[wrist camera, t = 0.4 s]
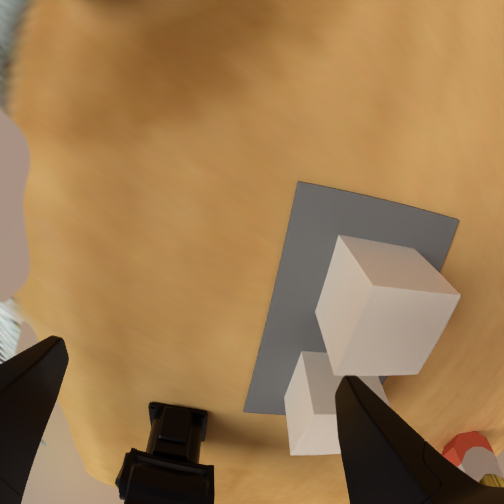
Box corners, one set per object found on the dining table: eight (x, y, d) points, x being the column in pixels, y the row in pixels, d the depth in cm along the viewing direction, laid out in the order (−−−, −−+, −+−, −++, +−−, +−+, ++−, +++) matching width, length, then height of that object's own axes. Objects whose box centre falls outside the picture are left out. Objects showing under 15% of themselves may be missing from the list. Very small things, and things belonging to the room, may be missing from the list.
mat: (362, 412, 31) (362, 414, 31) (243, 410, 30) (243, 412, 30) (456, 219, 21) (458, 220, 21) (297, 181, 20) (298, 182, 20)
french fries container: (450, 434, 37) (483, 514, 21) (483, 428, 39) (515, 496, 22) (434, 449, 39) (463, 526, 23) (468, 442, 40) (497, 508, 24)
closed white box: (386, 318, 25) (417, 374, 18) (315, 311, 24) (333, 375, 18) (414, 248, 22) (461, 295, 16) (338, 234, 21) (372, 285, 15)
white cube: (344, 398, 29) (359, 452, 23) (284, 397, 29) (290, 455, 22) (368, 354, 27) (392, 411, 20) (301, 351, 26) (314, 414, 20)
